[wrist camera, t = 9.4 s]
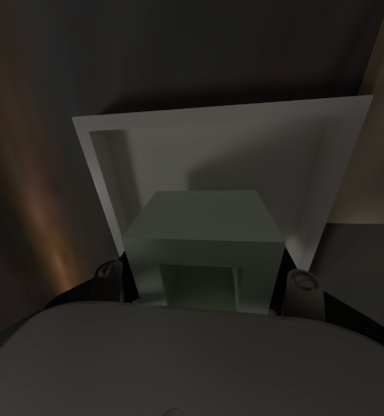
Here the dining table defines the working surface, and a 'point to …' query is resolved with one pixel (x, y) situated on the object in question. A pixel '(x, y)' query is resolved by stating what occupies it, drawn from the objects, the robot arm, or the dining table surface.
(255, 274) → the green hollow square block
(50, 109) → the dining table surface
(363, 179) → the wooden peg base
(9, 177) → the dining table surface
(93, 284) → the robot arm
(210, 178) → the tray
